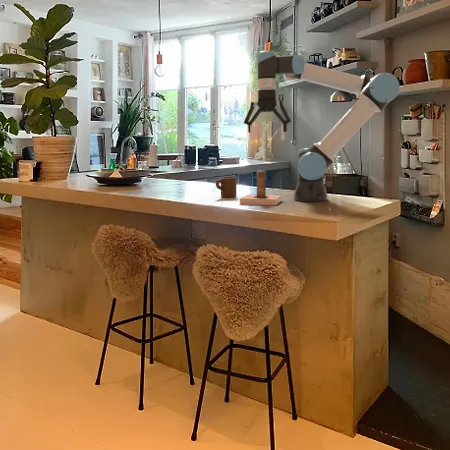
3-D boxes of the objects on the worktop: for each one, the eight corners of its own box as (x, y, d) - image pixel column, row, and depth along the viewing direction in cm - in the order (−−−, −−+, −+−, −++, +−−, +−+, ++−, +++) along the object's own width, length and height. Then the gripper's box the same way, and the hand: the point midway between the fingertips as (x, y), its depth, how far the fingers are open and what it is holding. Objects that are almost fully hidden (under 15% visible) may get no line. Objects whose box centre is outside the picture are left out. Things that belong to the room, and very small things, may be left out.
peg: (257, 201, 238) (257, 170, 235) (266, 202, 236) (266, 170, 234) (255, 203, 234) (255, 171, 231) (264, 203, 233) (264, 171, 230)
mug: (222, 199, 248) (221, 179, 247) (211, 198, 254) (210, 178, 252) (239, 196, 257) (239, 177, 255) (228, 195, 262) (228, 176, 260)
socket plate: (247, 200, 244) (247, 194, 244) (281, 201, 240) (281, 195, 239) (239, 204, 231) (239, 198, 230) (275, 205, 226) (275, 199, 226)
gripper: (236, 90, 224) (237, 141, 228) (294, 87, 216) (294, 139, 220) (241, 91, 231) (242, 140, 235) (297, 88, 223) (297, 139, 227)
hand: (267, 140), depth 228 cm, fingers open, 13 cm apart
